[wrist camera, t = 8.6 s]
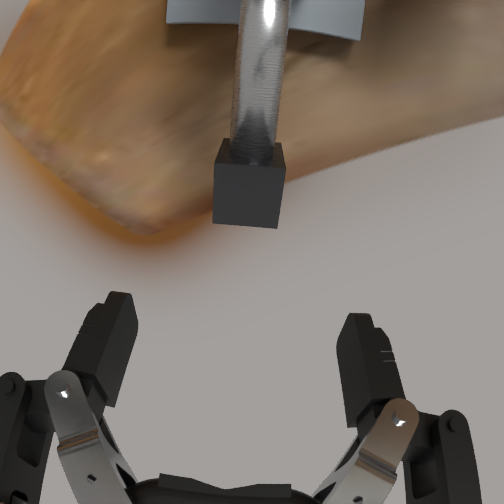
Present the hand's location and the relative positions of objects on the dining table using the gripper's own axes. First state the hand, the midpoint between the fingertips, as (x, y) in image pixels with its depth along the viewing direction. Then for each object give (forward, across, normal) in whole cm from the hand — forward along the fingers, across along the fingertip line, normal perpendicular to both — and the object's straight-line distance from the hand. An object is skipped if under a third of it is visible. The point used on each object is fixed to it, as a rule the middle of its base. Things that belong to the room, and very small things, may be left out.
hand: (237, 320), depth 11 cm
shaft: (+14, 0, -7) cm, 16 cm away
